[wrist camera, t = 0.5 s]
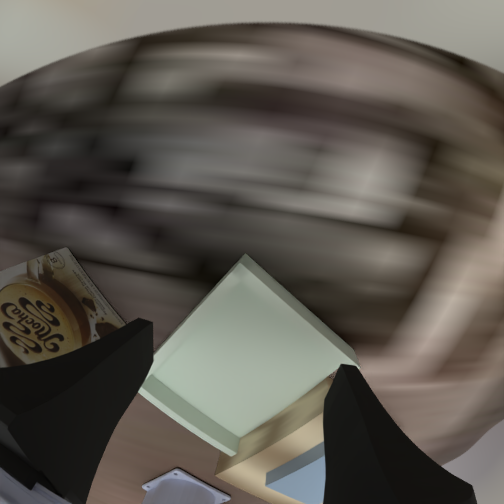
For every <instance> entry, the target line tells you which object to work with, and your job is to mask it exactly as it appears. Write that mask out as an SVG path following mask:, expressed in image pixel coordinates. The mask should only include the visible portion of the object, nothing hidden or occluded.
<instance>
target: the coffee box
mask: <svg viewBox="0 0 504 504" xmlns="http://www.w3.org/2000/svg"><path fill="white" fill-rule="evenodd" d="M124 325H126V324H125V323H124V322H123V320H122V319H121V318H120V317H119V316H118V314H117V313H116V312H115V311H114V310H113V308H112V307H111V306H110V305H109V303H108V302H107V301H106V300H105V298H104V297H103V296H102V294H101V293H100V292H99V291H98V289H97V288H96V287H95V285H94V284H93V283H92V281H91V280H90V279H89V277H88V276H87V275H86V273H85V272H84V270H83V269H82V268H81V266H80V265H79V263H78V262H77V261H76V259H75V258H74V256H73V255H72V253H71V252H70V250H69V249H68V248H67V247H66V248H63V249H60V250H57V251H55V252H52V253H49V254H46V255H43V256H40V257H38V258H35V259H33V260H30V261H27V262H24V263H21V264H18V265H16V266H13V267H11V268H8V269H5V270H3V271H0V368H2V367H12V366H20V365H26V364H31V363H35V362H39V361H43V360H47V359H51V358H54V357H57V356H60V355H63V354H66V353H69V352H71V351H74V350H76V349H79V348H81V347H83V346H85V345H87V344H89V343H92V342H94V341H96V340H98V339H100V338H102V337H104V336H106V335H108V334H110V333H111V332H113V331H115V330H117V329H119V328H121V327H123V326H124Z"/></svg>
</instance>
